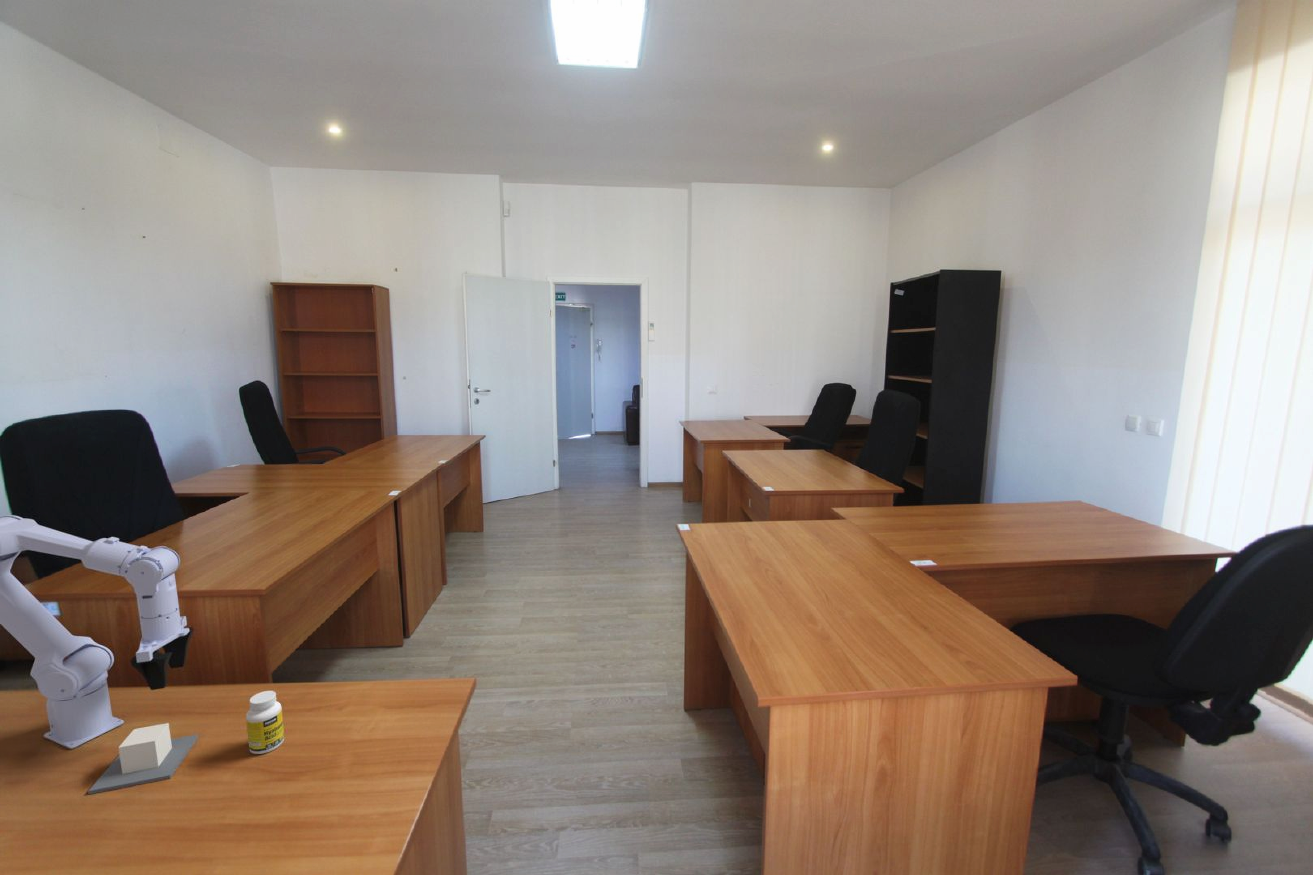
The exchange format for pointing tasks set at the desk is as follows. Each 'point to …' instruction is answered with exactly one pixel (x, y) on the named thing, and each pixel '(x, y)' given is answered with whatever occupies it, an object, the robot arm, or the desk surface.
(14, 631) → the robot arm
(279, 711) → the supplement bottle
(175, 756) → the mat
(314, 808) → the desk surface
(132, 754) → the cube
